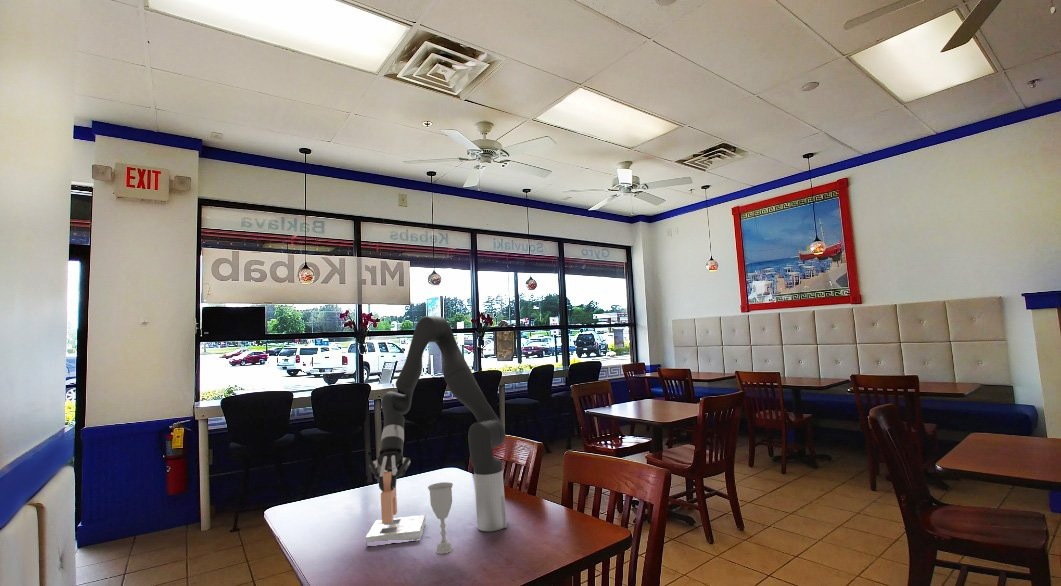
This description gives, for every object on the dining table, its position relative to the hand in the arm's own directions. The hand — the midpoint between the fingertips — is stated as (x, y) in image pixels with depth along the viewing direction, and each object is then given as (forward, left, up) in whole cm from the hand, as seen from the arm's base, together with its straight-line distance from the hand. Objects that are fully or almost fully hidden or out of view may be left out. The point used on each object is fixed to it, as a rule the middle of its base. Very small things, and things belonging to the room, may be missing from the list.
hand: (387, 488), depth 155 cm
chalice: (-18, +14, -15) cm, 27 cm away
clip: (0, -2, -10) cm, 10 cm away
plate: (-2, -2, -15) cm, 15 cm away
